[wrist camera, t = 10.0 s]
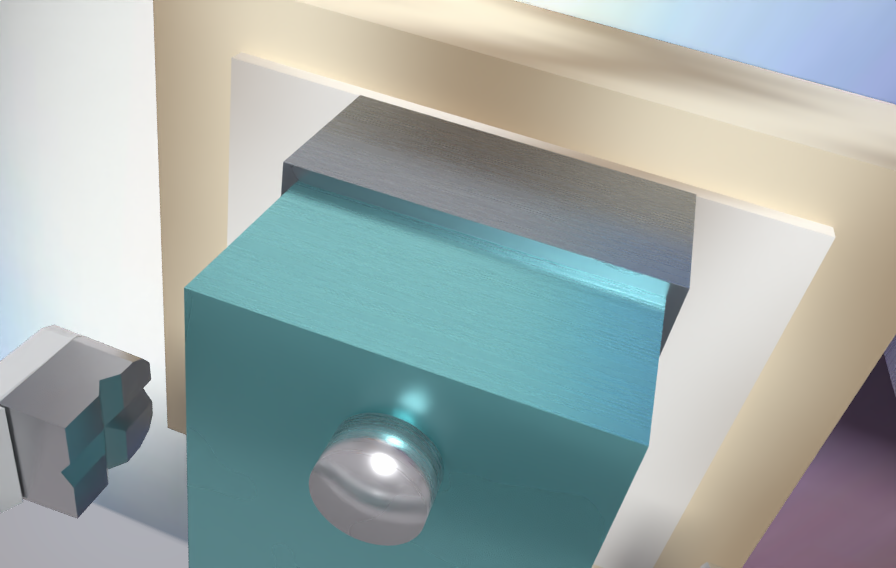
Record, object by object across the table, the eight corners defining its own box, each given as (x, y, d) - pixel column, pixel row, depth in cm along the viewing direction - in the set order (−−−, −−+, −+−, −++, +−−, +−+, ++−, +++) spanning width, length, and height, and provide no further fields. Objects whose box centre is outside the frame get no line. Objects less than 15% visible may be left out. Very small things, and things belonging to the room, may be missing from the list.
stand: (937, 116, 13) (993, 207, 10) (705, 514, 18) (702, 640, 16) (250, -72, 14) (139, -37, 12) (235, 348, 20) (160, 436, 17)
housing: (696, 194, 11) (675, 488, 6) (550, 547, 16) (478, 864, 11) (360, 95, 12) (127, 298, 7) (315, 461, 16) (156, 726, 12)
